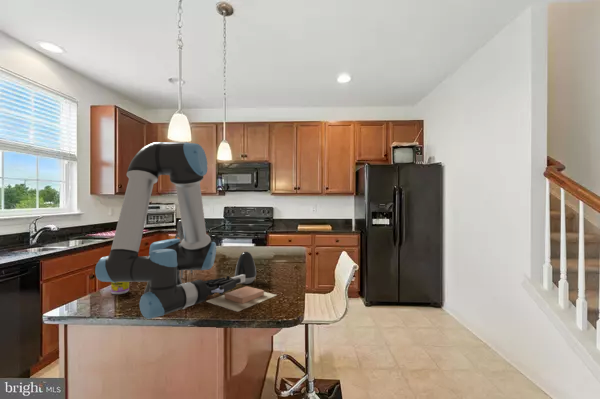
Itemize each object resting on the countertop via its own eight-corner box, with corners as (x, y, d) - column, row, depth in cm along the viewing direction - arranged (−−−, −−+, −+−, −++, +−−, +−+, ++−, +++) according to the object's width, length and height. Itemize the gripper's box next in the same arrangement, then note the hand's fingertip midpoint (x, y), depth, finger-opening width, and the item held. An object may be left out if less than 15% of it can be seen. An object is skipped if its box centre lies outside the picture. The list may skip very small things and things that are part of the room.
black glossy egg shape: (255, 279, 143) (255, 249, 143) (256, 285, 133) (257, 253, 133) (235, 280, 141) (235, 250, 141) (234, 286, 131) (235, 253, 131)
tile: (242, 298, 106) (263, 290, 116) (224, 293, 112) (246, 286, 121) (242, 304, 106) (263, 295, 116) (224, 298, 112) (246, 291, 121)
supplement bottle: (107, 294, 118) (107, 264, 118) (118, 289, 125) (118, 260, 125) (122, 294, 118) (122, 264, 118) (132, 290, 125) (133, 261, 125)
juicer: (192, 273, 154) (193, 219, 155) (182, 278, 143) (182, 220, 144) (175, 272, 155) (176, 218, 156) (164, 278, 144) (164, 220, 145)
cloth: (237, 313, 98) (237, 311, 98) (205, 303, 109) (205, 301, 109) (277, 296, 117) (277, 294, 117) (246, 289, 127) (246, 287, 127)
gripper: (180, 300, 97) (232, 284, 116) (203, 309, 89) (255, 290, 109) (180, 278, 97) (233, 266, 116) (204, 285, 89) (255, 270, 109)
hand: (243, 277), depth 112 cm, fingers closed
